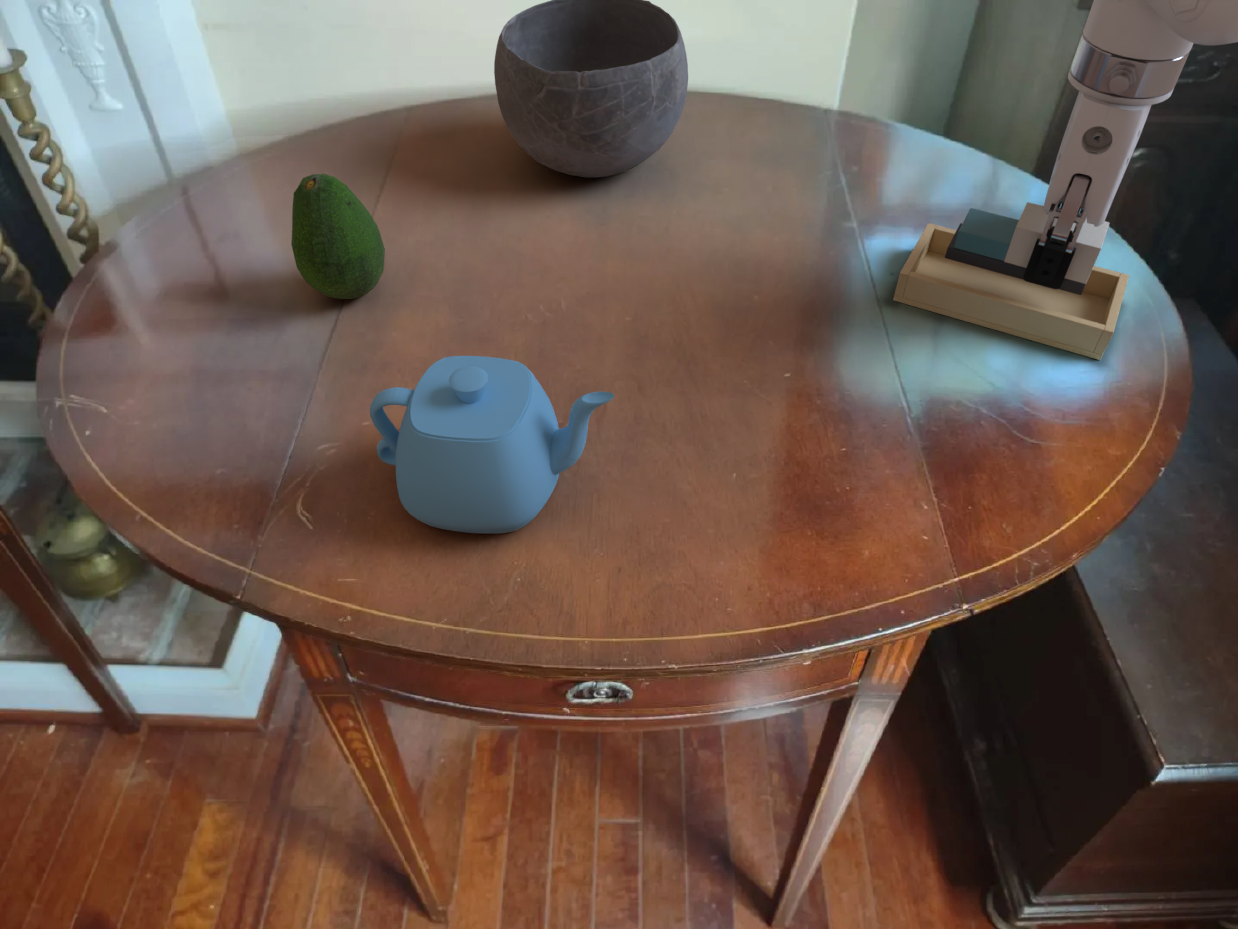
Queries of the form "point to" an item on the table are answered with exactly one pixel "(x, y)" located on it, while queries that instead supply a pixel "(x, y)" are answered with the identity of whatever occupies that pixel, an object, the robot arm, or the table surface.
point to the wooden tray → (1011, 298)
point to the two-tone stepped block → (1021, 244)
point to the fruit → (335, 239)
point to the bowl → (591, 83)
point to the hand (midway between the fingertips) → (1047, 265)
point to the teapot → (479, 443)
